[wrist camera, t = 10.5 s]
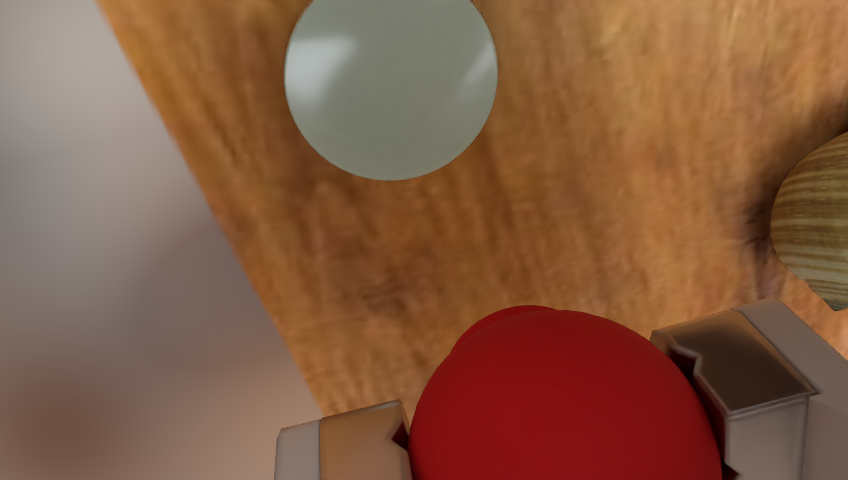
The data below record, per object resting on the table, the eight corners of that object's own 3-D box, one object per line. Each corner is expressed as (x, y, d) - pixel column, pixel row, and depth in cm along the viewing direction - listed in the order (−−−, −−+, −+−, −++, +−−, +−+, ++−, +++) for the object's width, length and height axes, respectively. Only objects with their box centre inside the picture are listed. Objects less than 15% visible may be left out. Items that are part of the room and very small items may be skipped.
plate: (506, 143, 25) (513, 152, 24) (320, 191, 24) (320, 203, 24) (471, -62, 21) (478, -59, 20) (254, -6, 21) (252, -2, 20)
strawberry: (631, 225, 8) (829, 443, 5) (645, 422, 10) (801, 678, 7) (362, 296, 8) (393, 563, 5) (422, 484, 10) (474, 772, 7)
